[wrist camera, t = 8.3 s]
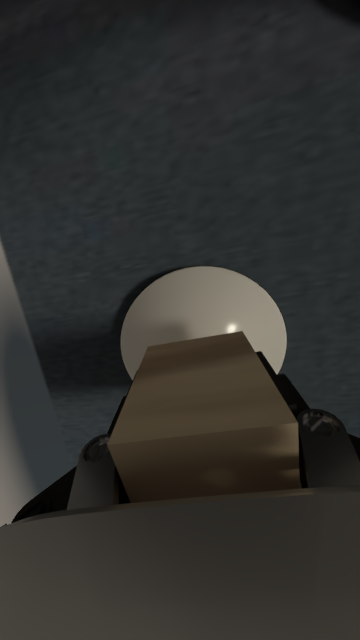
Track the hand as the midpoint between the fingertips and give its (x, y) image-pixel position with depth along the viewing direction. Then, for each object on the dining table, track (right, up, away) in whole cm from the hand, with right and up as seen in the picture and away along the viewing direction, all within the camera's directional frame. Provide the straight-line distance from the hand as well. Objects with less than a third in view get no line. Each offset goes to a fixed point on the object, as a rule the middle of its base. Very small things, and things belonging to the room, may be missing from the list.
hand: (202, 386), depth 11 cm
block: (0, 0, +1) cm, 1 cm away
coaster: (0, +2, +4) cm, 4 cm away
